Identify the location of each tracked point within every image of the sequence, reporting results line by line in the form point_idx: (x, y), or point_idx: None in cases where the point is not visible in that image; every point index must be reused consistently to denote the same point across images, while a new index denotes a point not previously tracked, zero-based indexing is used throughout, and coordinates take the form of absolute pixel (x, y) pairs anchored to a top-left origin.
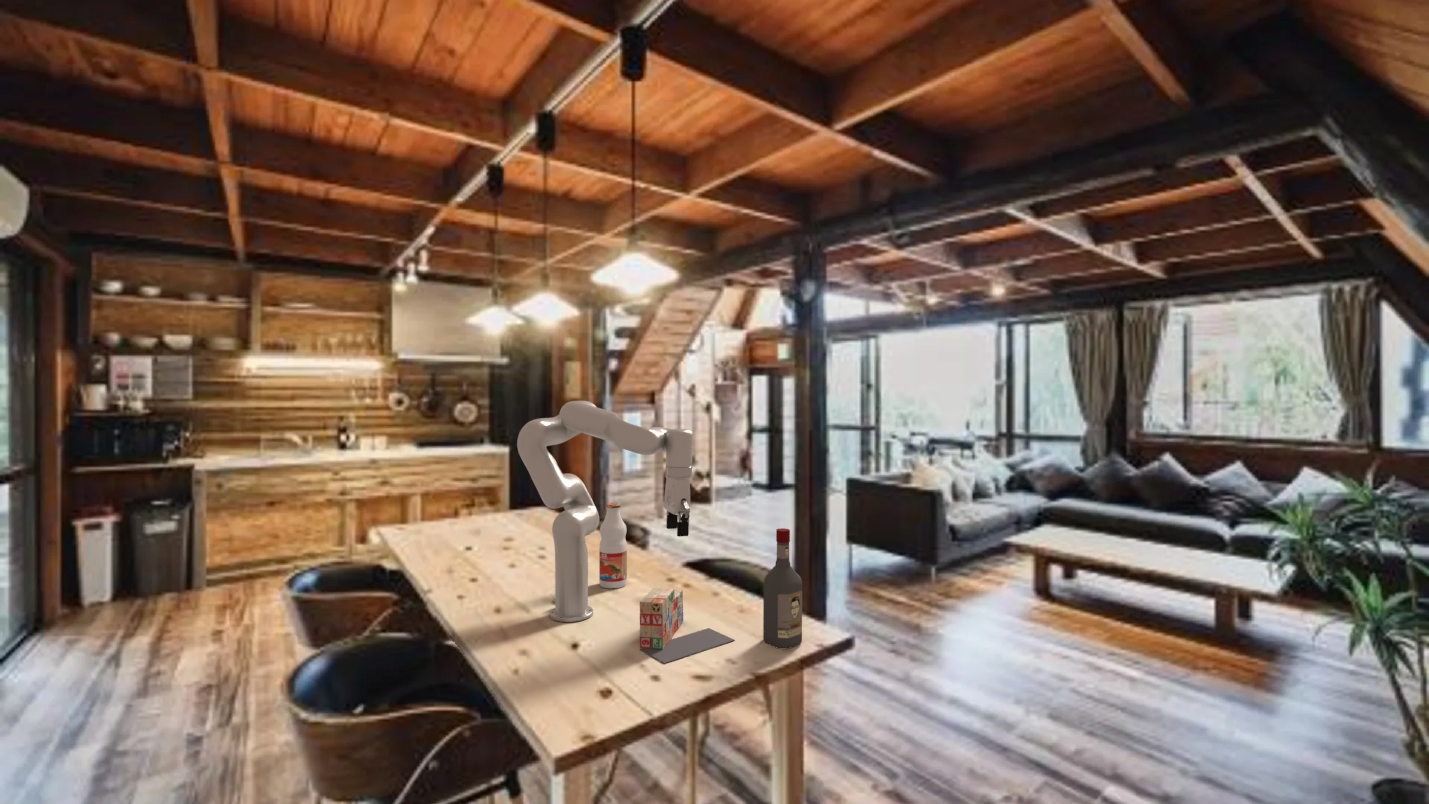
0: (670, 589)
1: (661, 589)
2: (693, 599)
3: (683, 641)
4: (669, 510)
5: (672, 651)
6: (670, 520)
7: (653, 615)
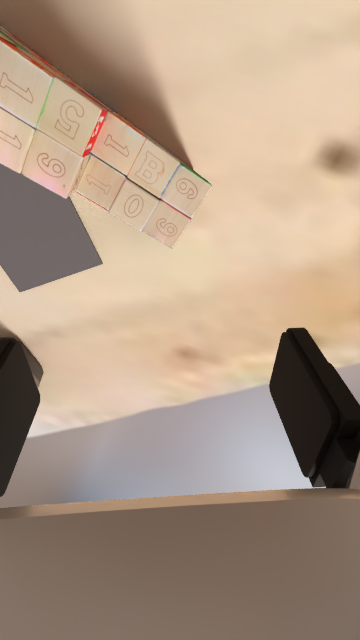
0: (56, 179)
1: (63, 139)
2: (302, 290)
3: (22, 175)
4: (77, 537)
5: None
6: (303, 398)
7: None
